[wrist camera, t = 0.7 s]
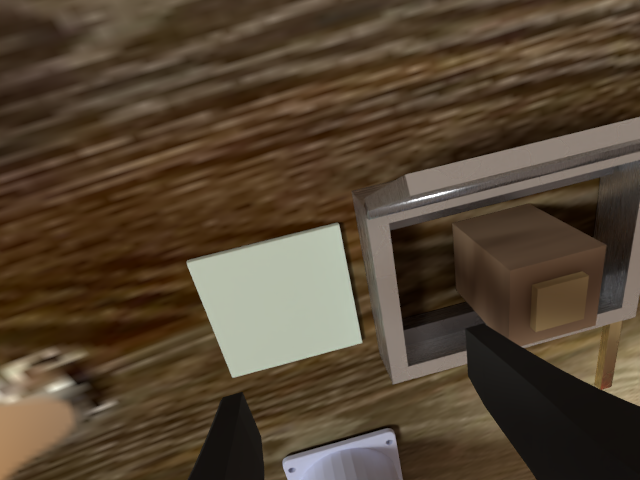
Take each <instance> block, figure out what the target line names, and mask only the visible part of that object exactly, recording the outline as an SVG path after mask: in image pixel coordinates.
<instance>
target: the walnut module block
mask: <svg viewBox="0 0 640 480" xmlns="http://www.w3.org/2000/svg"><path fill="white" fill-rule="evenodd" d="M452 225H453V242H454V260H455V278H456V290H457V291H458V293H459V294H460V295H461V296H462V297H463V298H464V299H465V300H466V302H467V303H468V304H469V305H470V306H471V307H472V308H473V310H474V311H475V312H476V313H477V314H478V315H479V316H480V317H481V319H482V320H483V321H484V322H485V323H486V324H487V325H488V326H489V327H490V328H492V329H493V330H495V331H497V332H498V333H500V334H501V335H503V336H505V337H506V338H508V339H509V340H511V341H513V342H514V343H516V344H518V345H519V346H524V345H527V344H531V343H535V342H538V341H542V340H545V339H549V338H553V337H556V336H560V335H563V334H567V333H571V332H574V331H578V330H581V329H585V328H588V327H592V326H596V319H597V312H598V305H599V297H600V290H601V283H602V276H603V268H604V261H605V254H606V246H607V245H606V244H604V243H602V242H600V241H598V240H596V239H594V238H592V237H591V236H589V235H587V234H585V233H583V232H581V231H579V230H577V229H576V228H574V227H572V226H570V225H568V224H566V223H564V222H562V221H560V220H559V219H557V218H555V217H553V216H551V215H549V214H547V213H545V212H544V211H542V210H540V209H538V208H536V207H534V206H532V205H530V204H525V205H521V206H517V207H513V208H509V209H505V210H502V211H498V212H494V213H490V214H486V215H482V216H478V217H474V218H470V219H466V220H462V221H459V222H455V223H452Z"/></svg>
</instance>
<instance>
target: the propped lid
mask: <svg viewBox="0 0 640 480" xmlns="http://www.w3.org/2000/svg"><path fill="white" fill-rule="evenodd" d="M637 152H640V117H638V118H633V119H629V120H625V121H621V122H617V123H613V124H609V125H605V126H601V127H597V128H593V129H589V130H585V131H581V132H577V133H573V134H569V135H565V136H560V137H556V138H552V139H548V140H544V141H540V142H536V143H532V144H528V145H524V146H520V147H516V148H512V149H508V150H504V151H500V152H496V153H492V154H487V155H483V156H479V157H475V158H471V159H467V160H463V161H459V162H455V163H451V164H447V165H443V166H439V167H435V168H431V169H427V170H423V171H419V172H414V173H410V174H406V175H404V176H402V177H400V178H399V179H397V180H395V181H393V182H392V183H390V184H388V185H387V186H385V187H383V188H381V189H380V190H378V191H376V192H374V193H373V194H371V195H369V196H367V197H366V198H364V200H365V203H364V208H365V213H366V216H367V218H368V220H371V219H375V218H379V217H383V216H387V215H391V214H395V213H399V212H402V211H406V210H410V209H414V208H418V207H422V206H426V205H430V204H434V203H438V202H442V201H446V200H450V199H454V198H458V197H462V196H466V195H470V194H474V193H478V192H482V191H486V190H490V189H494V188H498V187H502V186H506V185H510V184H514V183H518V182H522V181H525V180H529V179H533V178H537V177H541V176H545V175H549V174H553V173H557V172H561V171H565V170H569V169H573V168H577V167H581V166H585V165H589V164H593V163H597V162H601V161H605V160H609V159H613V158H617V157H621V156H625V155H629V154H633V153H637Z"/></svg>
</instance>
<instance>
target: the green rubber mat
mask: <svg viewBox="0 0 640 480" xmlns="http://www.w3.org/2000/svg"><path fill="white" fill-rule="evenodd" d="M187 266H188V268H189V271H190V273H191V276H192V278H193V281H194V283H195V286H196V288H197V291H198V293H199V296H200V298H201V301H202V303H203V305H204V308H205V310H206V313H207V315H208V318H209V320H210V323H211V325H212V328H213V330H214V333H215V335H216V338H217V340H218V343H219V345H220V348H221V350H222V353H223V355H224V358H225V360H226V363H227V365H228V368H229V370H230V373H231V375H232V378H234V377H238V376H241V375H245V374H249V373H252V372H256V371H260V370H263V369H267V368H271V367H275V366H278V365H282V364H286V363H289V362H293V361H297V360H300V359H304V358H308V357H312V356H315V355H319V354H323V353H326V352H330V351H334V350H337V349H341V348H345V347H349V346H352V345H356V344H360V343H362V339H361V334H360V329H359V324H358V319H357V313H356V308H355V303H354V298H353V293H352V288H351V283H350V278H349V272H348V267H347V262H346V257H345V252H344V247H343V242H342V237H341V232H340V226H339V223H334V224H330V225H326V226H322V227H318V228H314V229H310V230H306V231H302V232H298V233H294V234H290V235H286V236H282V237H278V238H274V239H270V240H266V241H262V242H258V243H254V244H250V245H246V246H242V247H238V248H234V249H230V250H226V251H222V252H218V253H214V254H210V255H206V256H203V257H199V258H195V259H191V260H187Z"/></svg>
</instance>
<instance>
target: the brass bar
mask: <svg viewBox="0 0 640 480" xmlns="http://www.w3.org/2000/svg"><path fill="white" fill-rule="evenodd" d="M621 326H622V321H619V322H615V323H612V324H608V325H605V326H603V328H602V335H601V342H600V349H599V356H598V363H597V369H596V376H595V383H594V385H595V386H596V387H598V388H599V389H600V390H602V389H605V388H608V387H611V386H612V380H613V374H614V368H615V362H616V356H617V350H618V344H619V338H620V332H621Z"/></svg>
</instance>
